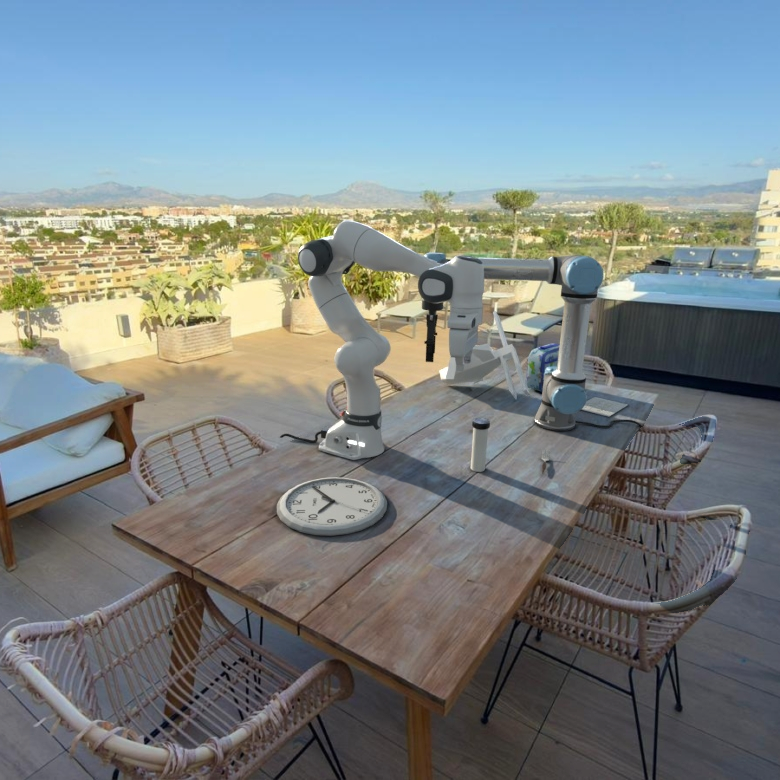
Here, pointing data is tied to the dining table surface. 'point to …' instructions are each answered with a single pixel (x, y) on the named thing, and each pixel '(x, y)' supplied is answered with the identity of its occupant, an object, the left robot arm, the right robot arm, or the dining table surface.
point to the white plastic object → (486, 364)
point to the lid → (481, 423)
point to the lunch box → (541, 364)
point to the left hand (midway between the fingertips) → (463, 366)
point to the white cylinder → (479, 449)
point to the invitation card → (603, 406)
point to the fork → (545, 460)
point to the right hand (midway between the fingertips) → (430, 357)
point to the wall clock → (331, 506)
